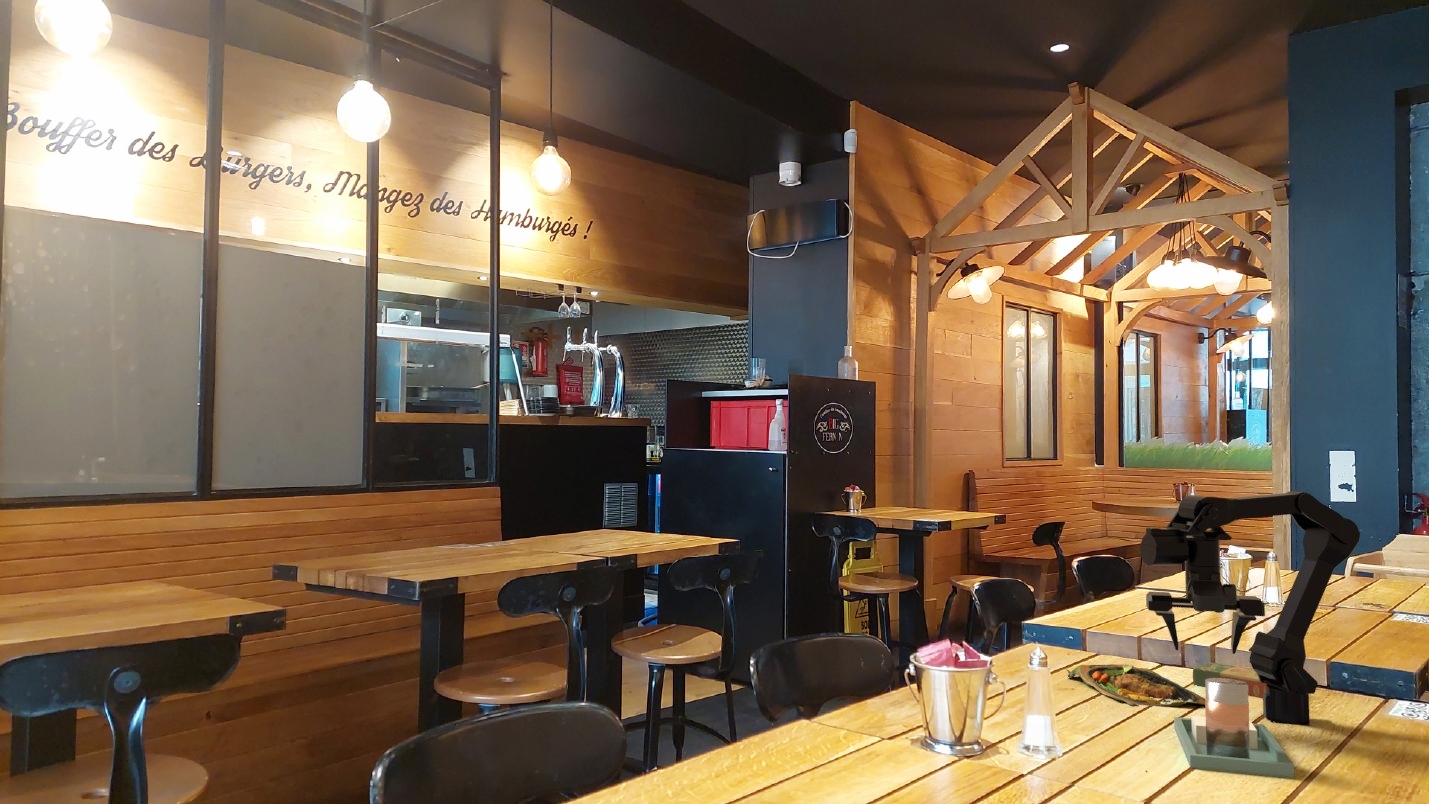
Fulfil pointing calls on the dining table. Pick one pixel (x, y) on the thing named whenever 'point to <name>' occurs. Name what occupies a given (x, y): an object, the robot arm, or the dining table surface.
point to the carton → (1229, 676)
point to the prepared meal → (1135, 685)
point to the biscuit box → (1200, 731)
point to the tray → (1261, 761)
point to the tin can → (1227, 718)
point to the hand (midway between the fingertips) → (1204, 651)
